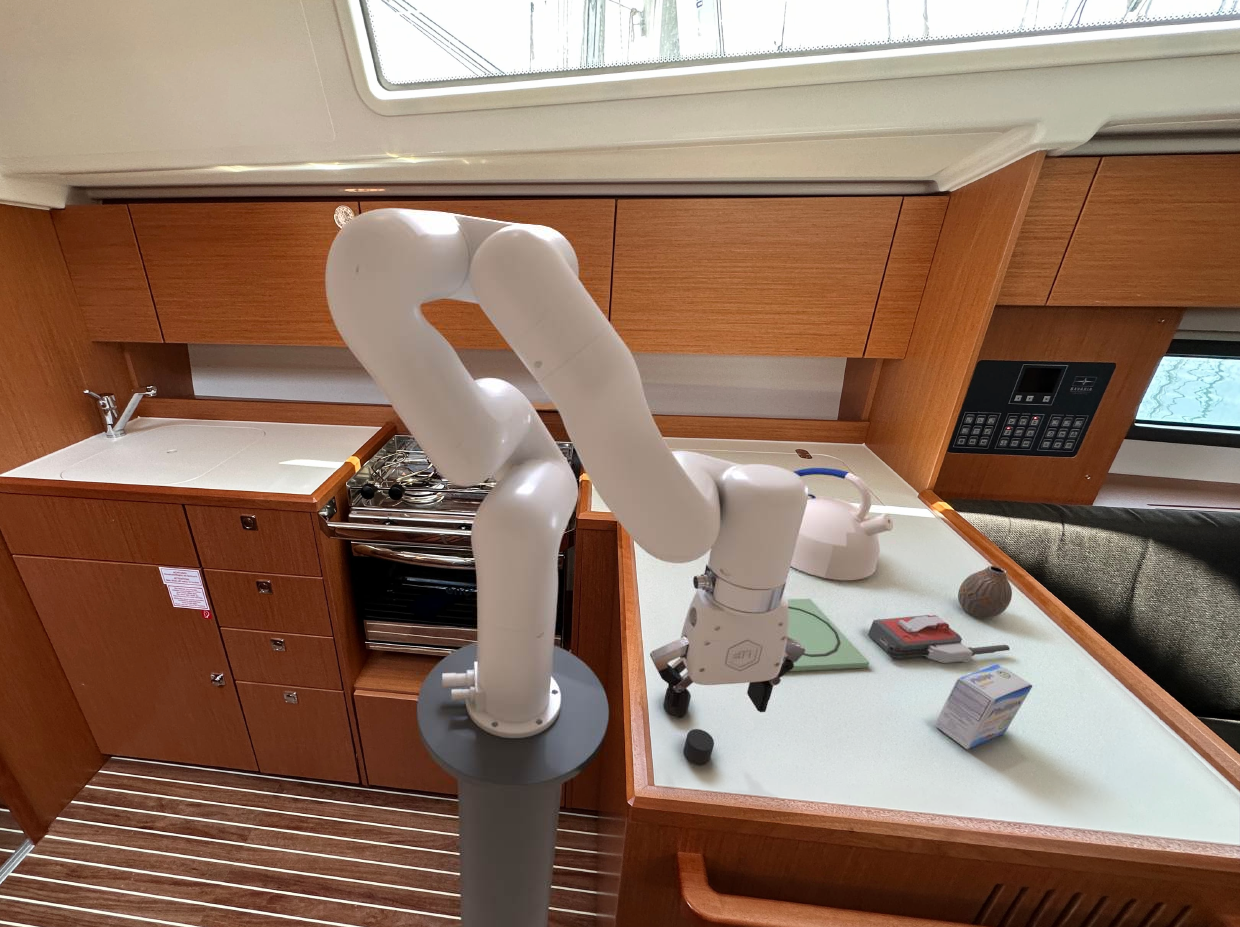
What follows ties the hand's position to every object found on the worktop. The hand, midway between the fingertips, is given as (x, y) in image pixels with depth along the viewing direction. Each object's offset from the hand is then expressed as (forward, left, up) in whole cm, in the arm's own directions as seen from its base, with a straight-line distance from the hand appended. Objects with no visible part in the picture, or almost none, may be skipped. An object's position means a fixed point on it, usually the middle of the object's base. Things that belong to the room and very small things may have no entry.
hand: (716, 706), depth 65 cm
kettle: (+43, +45, -9) cm, 63 cm away
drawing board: (+21, +21, -8) cm, 31 cm away
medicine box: (+37, +1, -9) cm, 38 cm away
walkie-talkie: (+45, +17, -9) cm, 49 cm away
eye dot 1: (-1, +8, -8) cm, 11 cm away
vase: (+60, +25, -9) cm, 66 cm away
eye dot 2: (-1, 0, -8) cm, 8 cm away
